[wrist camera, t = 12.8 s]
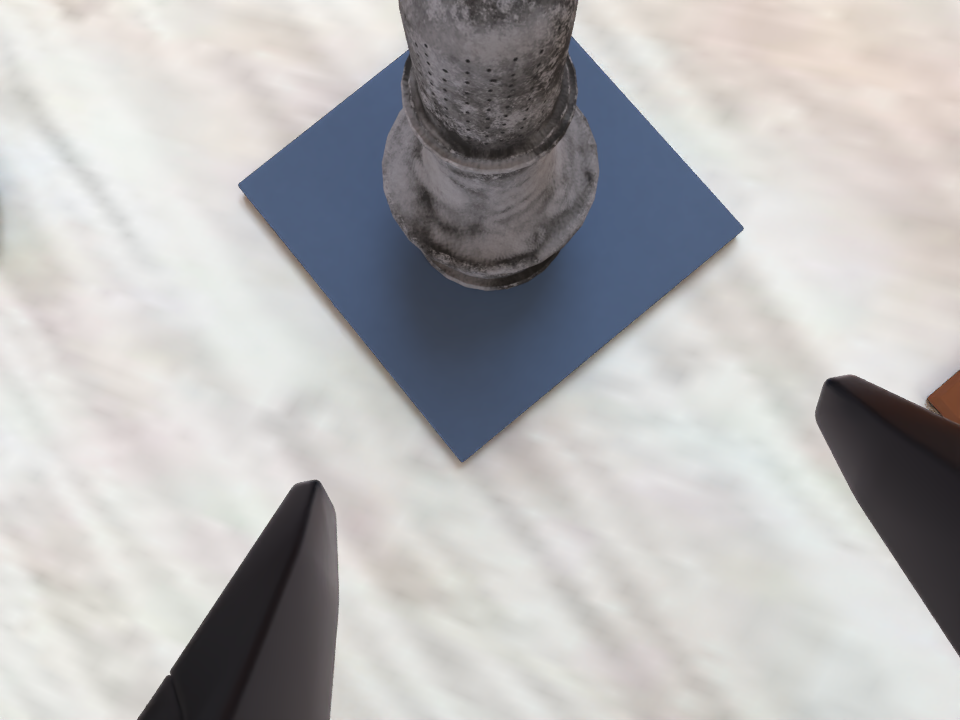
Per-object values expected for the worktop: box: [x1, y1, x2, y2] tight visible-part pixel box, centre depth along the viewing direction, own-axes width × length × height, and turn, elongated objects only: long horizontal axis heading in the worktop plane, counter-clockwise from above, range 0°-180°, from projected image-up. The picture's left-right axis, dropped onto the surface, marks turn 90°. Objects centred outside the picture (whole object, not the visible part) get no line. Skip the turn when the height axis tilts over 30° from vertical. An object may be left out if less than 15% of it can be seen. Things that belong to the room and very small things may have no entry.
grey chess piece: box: [382, 0, 599, 291], centre depth 13 cm, size 6×6×12 cm
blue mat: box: [238, 36, 744, 462], centre depth 19 cm, size 12×12×1 cm
